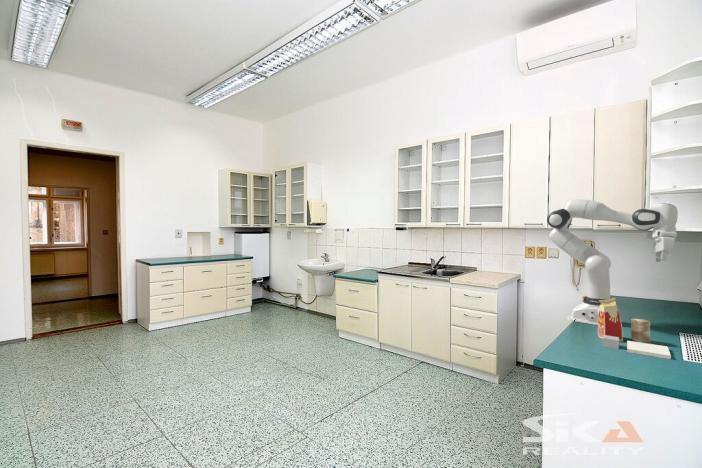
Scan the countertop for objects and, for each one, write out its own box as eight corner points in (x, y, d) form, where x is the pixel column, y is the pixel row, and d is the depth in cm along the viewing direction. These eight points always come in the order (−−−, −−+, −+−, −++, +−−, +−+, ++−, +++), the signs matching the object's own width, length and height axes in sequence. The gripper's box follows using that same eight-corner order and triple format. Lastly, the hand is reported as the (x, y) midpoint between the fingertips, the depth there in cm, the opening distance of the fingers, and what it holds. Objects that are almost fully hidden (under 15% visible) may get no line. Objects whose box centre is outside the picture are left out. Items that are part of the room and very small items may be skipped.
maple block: (638, 342, 164) (638, 321, 164) (631, 339, 169) (631, 318, 169) (650, 342, 163) (650, 321, 163) (642, 339, 168) (642, 318, 168)
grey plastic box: (602, 346, 159) (602, 337, 159) (603, 343, 164) (603, 334, 164) (618, 349, 156) (618, 340, 156) (619, 345, 160) (619, 337, 160)
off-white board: (627, 352, 151) (627, 348, 151) (627, 343, 162) (627, 340, 162) (670, 359, 143) (670, 355, 143) (667, 349, 154) (667, 346, 154)
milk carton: (616, 336, 174) (616, 296, 174) (624, 341, 166) (623, 299, 165) (595, 334, 177) (594, 295, 177) (601, 339, 169) (601, 298, 168)
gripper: (650, 236, 190) (647, 261, 189) (661, 231, 172) (658, 259, 171) (665, 237, 187) (662, 263, 186) (678, 233, 169) (675, 261, 168)
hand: (660, 261), depth 179 cm, fingers open, 8 cm apart
